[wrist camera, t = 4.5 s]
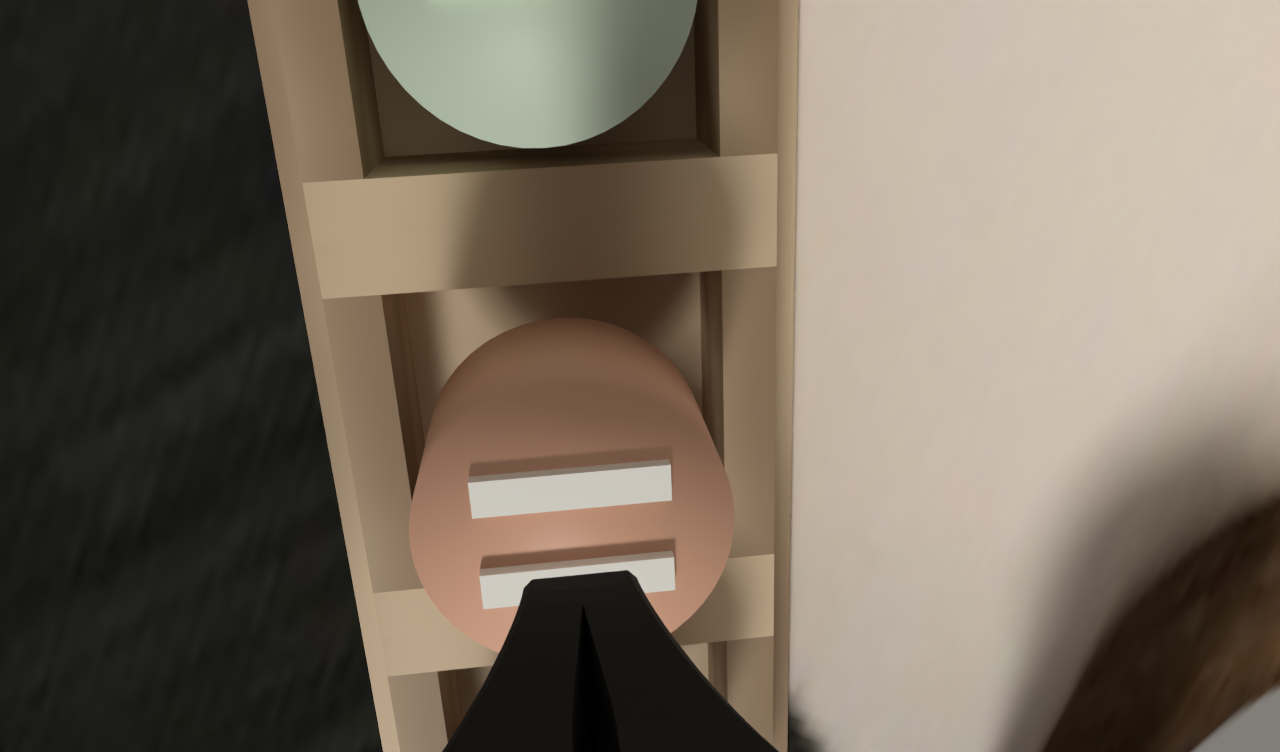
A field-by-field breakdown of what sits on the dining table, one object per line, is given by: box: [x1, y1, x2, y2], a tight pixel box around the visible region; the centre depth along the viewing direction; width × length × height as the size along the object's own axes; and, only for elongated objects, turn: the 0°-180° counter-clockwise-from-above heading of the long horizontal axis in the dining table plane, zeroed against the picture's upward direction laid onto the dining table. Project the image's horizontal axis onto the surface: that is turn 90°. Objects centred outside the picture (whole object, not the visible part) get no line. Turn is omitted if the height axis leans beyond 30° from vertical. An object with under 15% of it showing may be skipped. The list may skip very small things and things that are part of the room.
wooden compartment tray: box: [247, 0, 799, 752], centre depth 19 cm, size 10×26×3 cm, turn 2°
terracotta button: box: [409, 318, 735, 653], centre depth 16 cm, size 5×5×3 cm
